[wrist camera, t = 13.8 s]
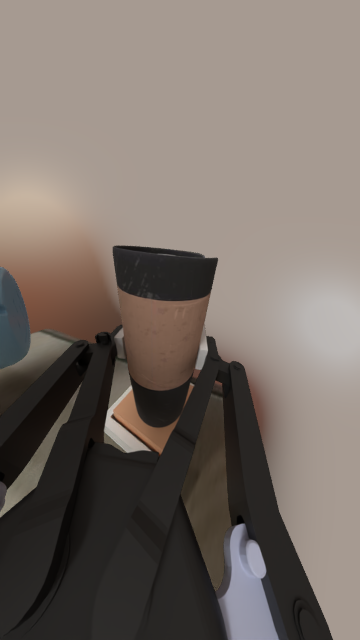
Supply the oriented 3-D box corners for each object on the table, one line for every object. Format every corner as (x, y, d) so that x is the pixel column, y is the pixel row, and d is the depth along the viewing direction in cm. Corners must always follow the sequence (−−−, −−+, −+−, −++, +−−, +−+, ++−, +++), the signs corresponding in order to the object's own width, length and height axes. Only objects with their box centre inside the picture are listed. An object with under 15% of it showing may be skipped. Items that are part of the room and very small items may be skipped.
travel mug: (122, 407, 18) (83, 242, 8) (157, 370, 24) (159, 247, 14) (166, 446, 15) (189, 260, 5) (194, 393, 21) (230, 257, 11)
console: (104, 431, 20) (98, 419, 18) (152, 374, 30) (152, 362, 28) (170, 491, 16) (172, 485, 14) (202, 402, 25) (206, 391, 23)
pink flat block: (116, 420, 20) (113, 410, 18) (153, 374, 27) (153, 365, 25) (168, 463, 16) (169, 455, 15) (194, 398, 24) (197, 388, 22)
